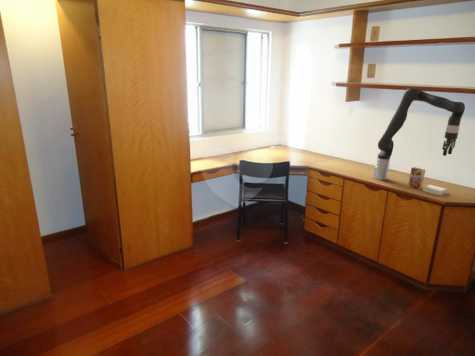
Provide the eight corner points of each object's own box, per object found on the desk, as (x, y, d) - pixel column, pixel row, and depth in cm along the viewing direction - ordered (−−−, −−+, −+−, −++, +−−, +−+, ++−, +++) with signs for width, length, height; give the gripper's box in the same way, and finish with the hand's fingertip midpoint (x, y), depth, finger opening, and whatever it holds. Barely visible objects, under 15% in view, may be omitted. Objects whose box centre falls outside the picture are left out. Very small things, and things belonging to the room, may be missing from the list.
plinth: (422, 190, 252) (423, 186, 251) (429, 188, 258) (429, 184, 257) (440, 195, 243) (441, 191, 242) (445, 192, 249) (446, 188, 248)
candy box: (407, 186, 261) (411, 167, 256) (410, 185, 263) (414, 166, 259) (418, 190, 254) (422, 170, 249) (422, 189, 256) (425, 169, 252)
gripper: (450, 130, 240) (445, 152, 244) (441, 131, 231) (436, 154, 236) (462, 131, 234) (456, 154, 239) (453, 133, 226) (448, 157, 230)
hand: (446, 154), depth 237 cm, fingers open, 8 cm apart
